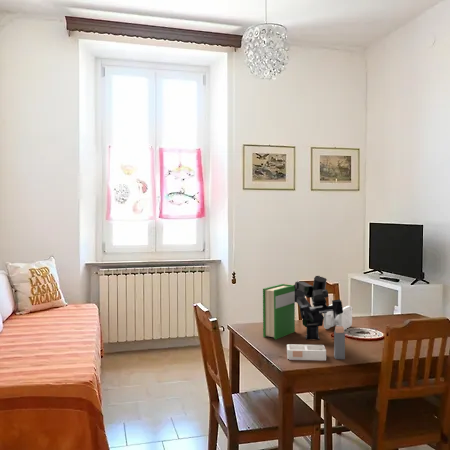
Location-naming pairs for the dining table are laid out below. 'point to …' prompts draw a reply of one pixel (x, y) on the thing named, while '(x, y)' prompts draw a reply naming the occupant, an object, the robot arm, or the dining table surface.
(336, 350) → the gray rectangular block
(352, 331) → the dining table surface
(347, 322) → the cable organizer
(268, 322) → the hardback book
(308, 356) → the socket strip
